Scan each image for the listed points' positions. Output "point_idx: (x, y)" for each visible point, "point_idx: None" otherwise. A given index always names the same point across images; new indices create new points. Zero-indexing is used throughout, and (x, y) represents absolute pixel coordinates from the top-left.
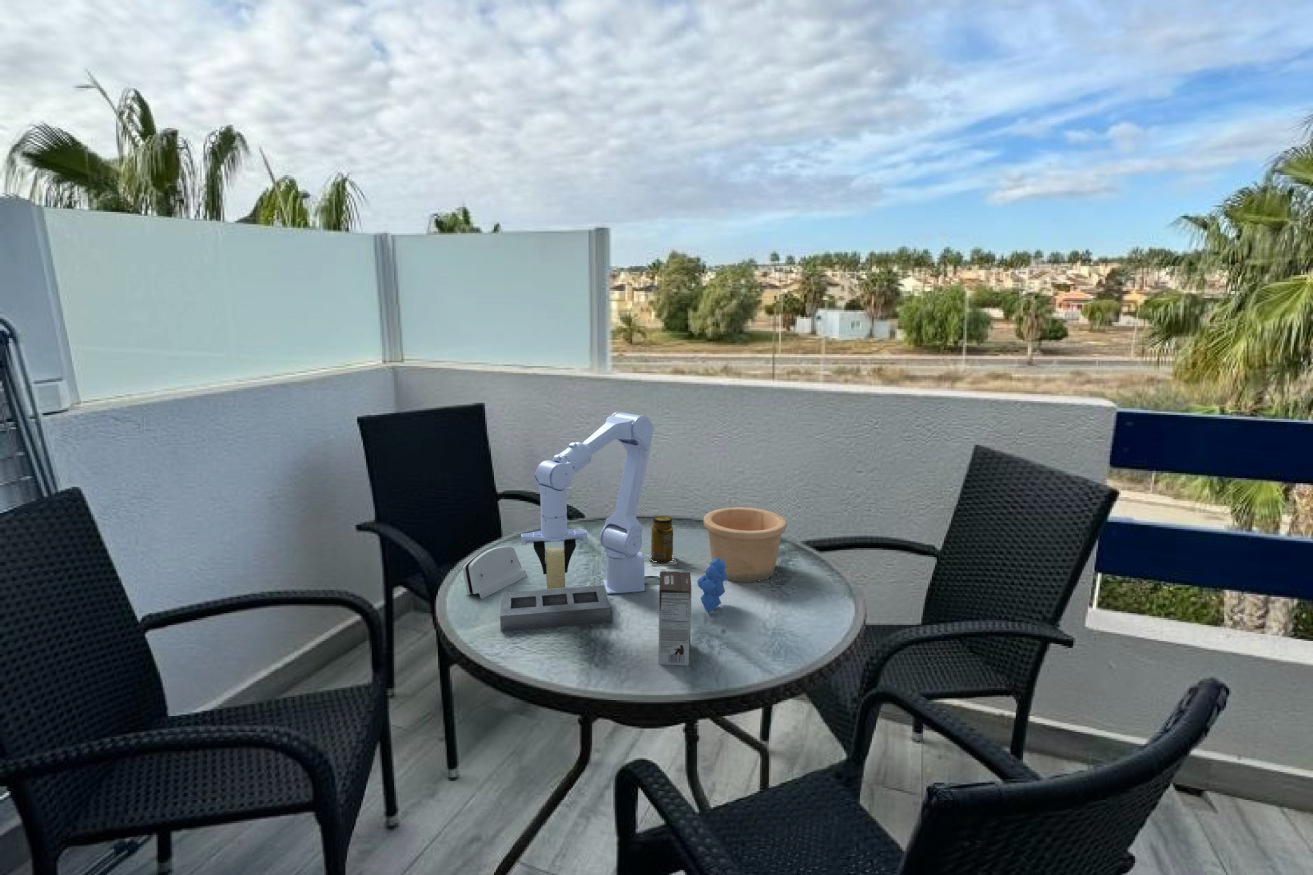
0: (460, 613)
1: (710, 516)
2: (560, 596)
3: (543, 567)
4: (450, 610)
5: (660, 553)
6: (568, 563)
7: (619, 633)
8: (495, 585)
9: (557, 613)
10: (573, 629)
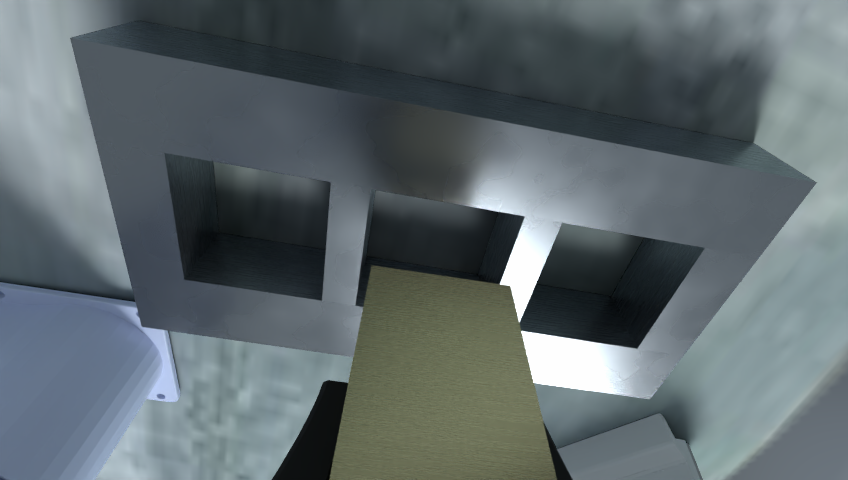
0: (797, 346)
1: None
2: None
3: (559, 472)
4: (812, 375)
5: None
6: (284, 465)
7: None
8: (596, 461)
9: (461, 107)
10: (378, 5)
